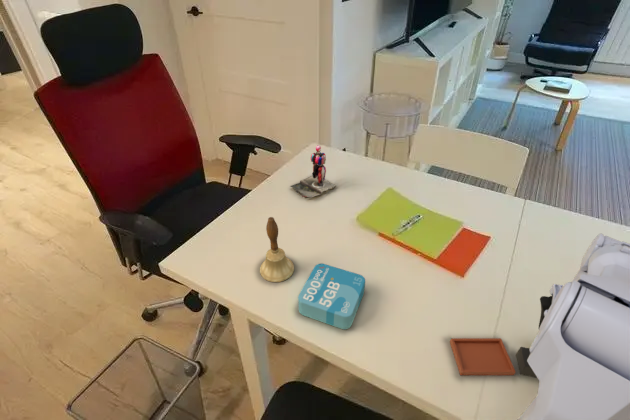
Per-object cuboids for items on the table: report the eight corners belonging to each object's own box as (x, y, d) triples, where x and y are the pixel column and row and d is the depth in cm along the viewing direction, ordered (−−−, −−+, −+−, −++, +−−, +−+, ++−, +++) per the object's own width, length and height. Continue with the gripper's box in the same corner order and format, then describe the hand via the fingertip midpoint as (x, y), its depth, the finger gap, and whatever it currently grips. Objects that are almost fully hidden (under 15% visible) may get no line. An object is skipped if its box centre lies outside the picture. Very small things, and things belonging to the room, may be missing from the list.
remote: (554, 362, 71) (560, 353, 70) (560, 382, 68) (567, 373, 66) (515, 355, 73) (520, 346, 71) (519, 374, 70) (525, 365, 68)
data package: (350, 319, 74) (295, 300, 77) (349, 332, 77) (296, 313, 80) (367, 276, 82) (317, 261, 86) (365, 289, 85) (317, 274, 89)
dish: (499, 341, 75) (501, 338, 74) (513, 375, 69) (515, 372, 69) (449, 341, 75) (450, 338, 74) (460, 375, 69) (461, 372, 69)
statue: (315, 179, 123) (318, 136, 114) (335, 191, 117) (340, 147, 109) (289, 189, 116) (291, 144, 108) (309, 202, 111) (313, 155, 102)
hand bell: (260, 284, 86) (253, 233, 76) (259, 258, 93) (252, 209, 83) (296, 280, 87) (293, 229, 77) (292, 255, 94) (289, 205, 84)
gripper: (544, 264, 64) (517, 312, 73) (571, 337, 53) (536, 384, 62) (589, 270, 63) (557, 318, 71) (626, 346, 52) (583, 392, 60)
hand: (550, 349), depth 66 cm, fingers open, 7 cm apart
